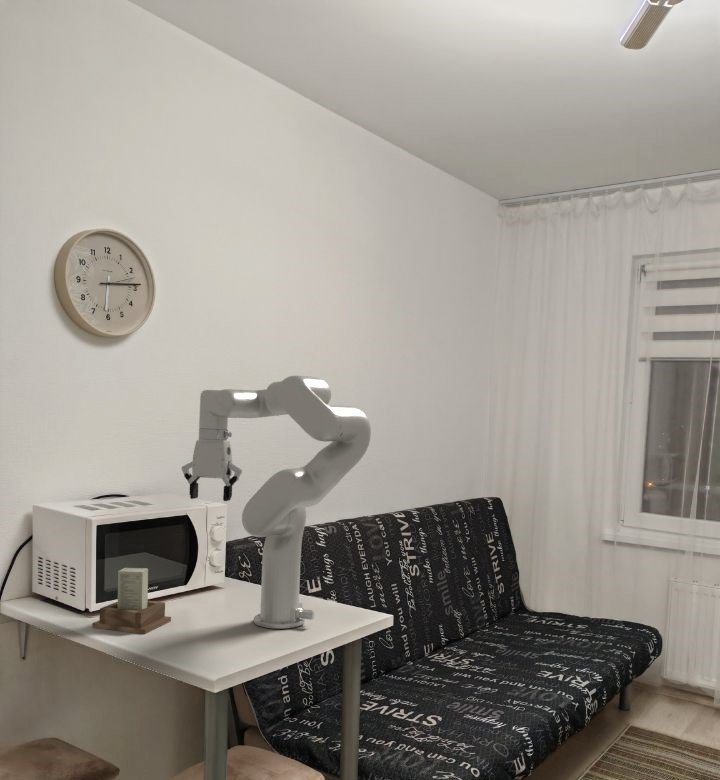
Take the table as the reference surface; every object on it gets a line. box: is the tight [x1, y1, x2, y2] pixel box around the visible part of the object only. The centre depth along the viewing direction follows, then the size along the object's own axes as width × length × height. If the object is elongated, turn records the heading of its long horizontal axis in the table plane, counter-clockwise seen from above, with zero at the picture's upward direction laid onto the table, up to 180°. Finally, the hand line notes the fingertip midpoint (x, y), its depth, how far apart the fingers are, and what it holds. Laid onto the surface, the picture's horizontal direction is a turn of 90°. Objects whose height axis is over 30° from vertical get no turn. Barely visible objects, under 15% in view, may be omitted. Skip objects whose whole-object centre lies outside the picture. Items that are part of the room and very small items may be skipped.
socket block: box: [91, 600, 172, 635], centre depth 187 cm, size 14×12×4 cm
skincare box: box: [117, 567, 149, 611], centre depth 187 cm, size 6×4×12 cm
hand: (210, 499), depth 208 cm, fingers open, 9 cm apart
